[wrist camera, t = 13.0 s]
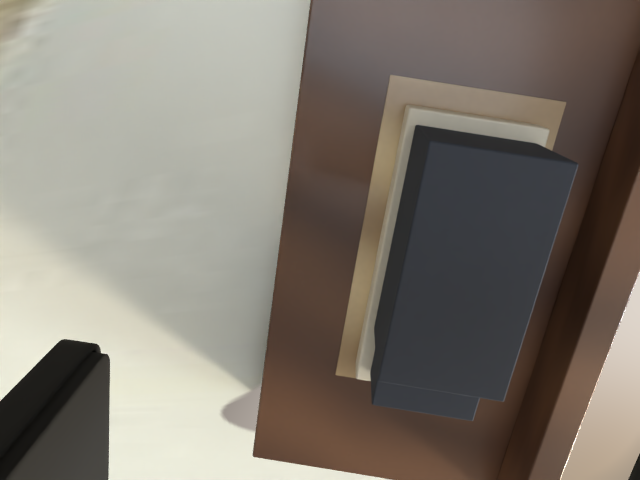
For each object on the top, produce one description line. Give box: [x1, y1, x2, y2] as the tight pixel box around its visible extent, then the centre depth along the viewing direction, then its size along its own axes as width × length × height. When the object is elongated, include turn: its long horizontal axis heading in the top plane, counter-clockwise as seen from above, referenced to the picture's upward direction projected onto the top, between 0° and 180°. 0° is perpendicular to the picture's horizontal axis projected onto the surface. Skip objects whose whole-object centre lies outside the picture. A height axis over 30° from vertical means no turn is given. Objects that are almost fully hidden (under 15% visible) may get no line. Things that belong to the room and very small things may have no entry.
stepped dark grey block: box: [356, 105, 578, 421], centre depth 18 cm, size 10×5×5 cm, turn 172°
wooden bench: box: [253, 0, 640, 480], centre depth 21 cm, size 22×12×6 cm, turn 172°
